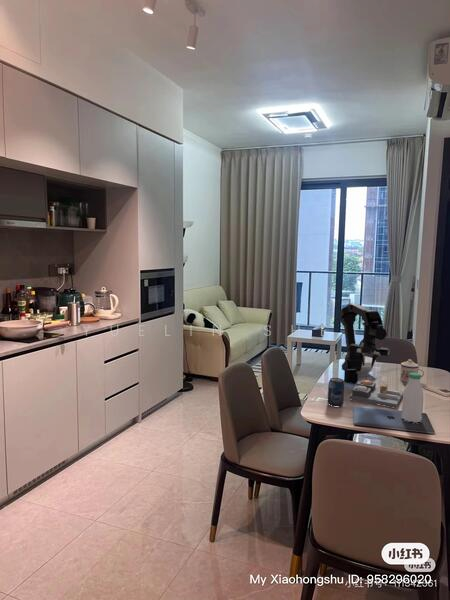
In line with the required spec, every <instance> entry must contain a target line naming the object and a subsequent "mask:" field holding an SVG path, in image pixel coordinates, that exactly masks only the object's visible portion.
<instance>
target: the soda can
mask: <svg viewBox="0 0 450 600" xmlns="http://www.w3.org/2000/svg"><path fill="white" fill-rule="evenodd" d="M343 380H344V378H340V377H339V378H338V377H330V379H329V381H328V386H327V387H328V388H327V389H328V390H327V403H328V405H329V404H330V405H332V406H341V407H342V406H343V405H344V397H345V395H344V393H345V382H343ZM330 405H329V406H330Z"/></svg>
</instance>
